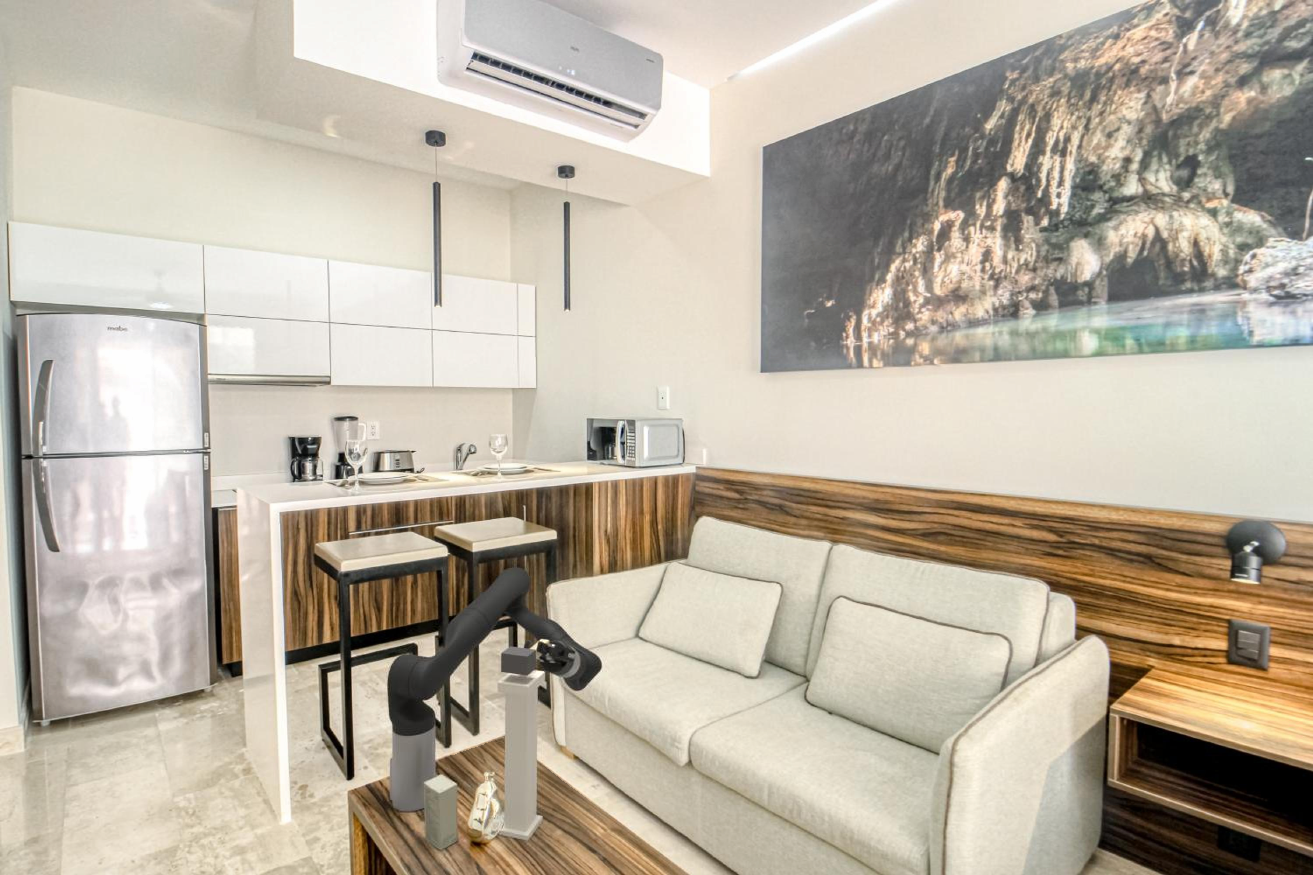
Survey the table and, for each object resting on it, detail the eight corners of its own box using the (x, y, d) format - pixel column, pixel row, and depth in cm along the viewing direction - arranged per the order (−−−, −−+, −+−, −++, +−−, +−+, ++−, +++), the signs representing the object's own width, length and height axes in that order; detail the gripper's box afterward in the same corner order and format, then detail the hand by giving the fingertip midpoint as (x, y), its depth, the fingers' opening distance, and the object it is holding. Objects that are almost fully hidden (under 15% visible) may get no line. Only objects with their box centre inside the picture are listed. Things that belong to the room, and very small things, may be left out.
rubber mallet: (527, 675, 136) (527, 656, 136) (501, 671, 138) (501, 653, 138) (557, 649, 151) (557, 632, 151) (533, 646, 152) (533, 629, 152)
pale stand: (526, 841, 138) (528, 686, 136) (496, 835, 139) (497, 682, 138) (543, 818, 145) (545, 671, 144) (514, 813, 147) (515, 667, 145)
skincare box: (458, 841, 137) (459, 784, 137) (439, 851, 134) (439, 793, 133) (442, 828, 142) (442, 772, 141) (423, 838, 138) (423, 781, 138)
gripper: (538, 640, 164) (509, 624, 149) (590, 646, 160) (566, 631, 145) (531, 671, 161) (500, 659, 146) (584, 679, 157) (558, 667, 142)
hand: (533, 645), depth 146 cm, fingers closed on rubber mallet, 2 cm apart
